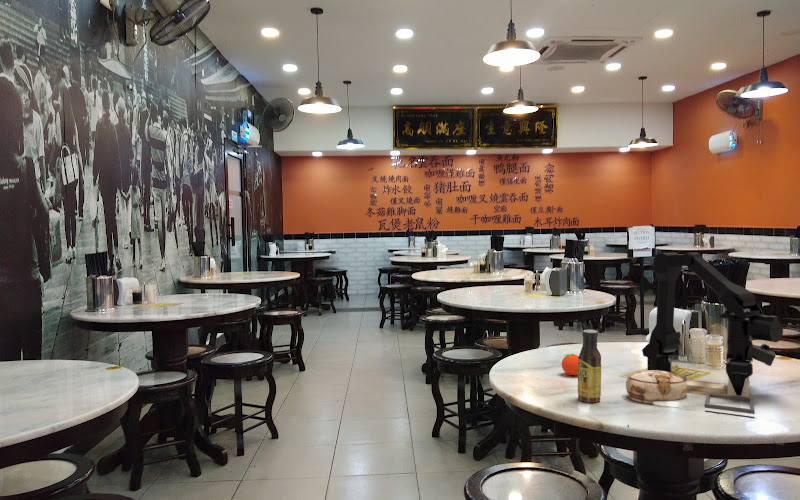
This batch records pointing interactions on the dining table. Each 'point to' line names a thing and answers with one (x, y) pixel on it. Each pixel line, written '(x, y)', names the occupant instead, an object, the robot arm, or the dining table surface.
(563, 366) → the clementine
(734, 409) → the tray
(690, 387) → the board
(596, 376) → the sauce bottle
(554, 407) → the dining table surface
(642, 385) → the trinket box
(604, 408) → the dining table surface
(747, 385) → the stub
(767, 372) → the dining table surface
